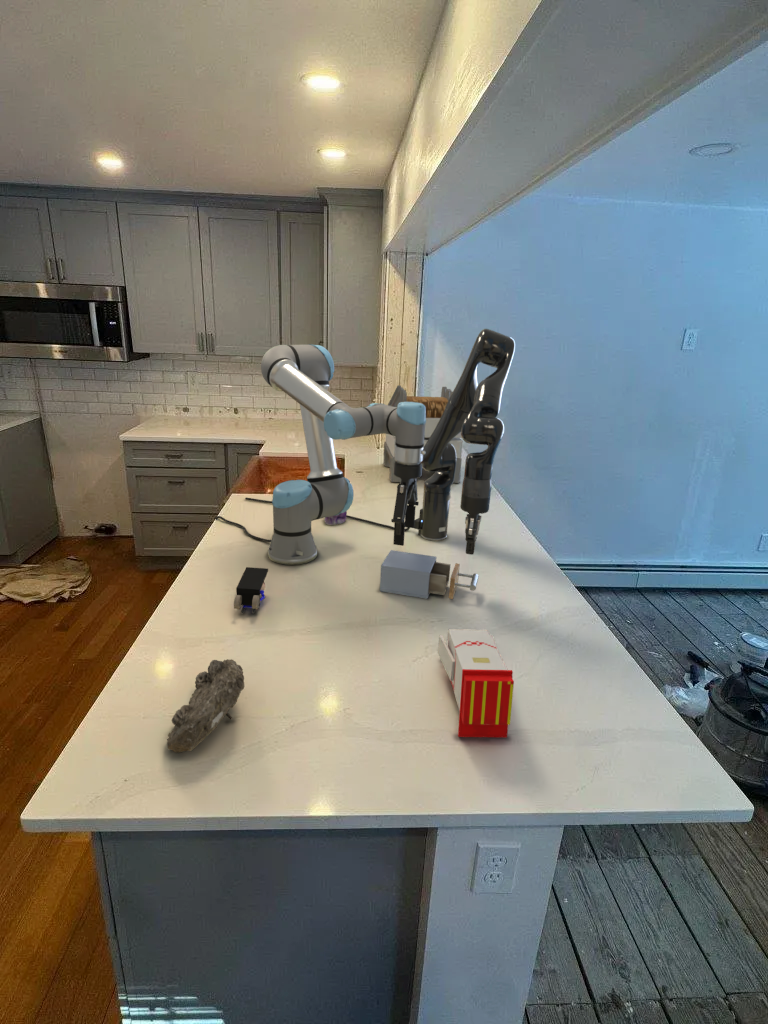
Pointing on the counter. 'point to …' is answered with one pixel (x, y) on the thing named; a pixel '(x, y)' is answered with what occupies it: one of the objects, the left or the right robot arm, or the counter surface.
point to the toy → (478, 682)
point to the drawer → (441, 579)
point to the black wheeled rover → (250, 589)
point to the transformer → (433, 415)
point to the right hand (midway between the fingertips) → (469, 553)
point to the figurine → (336, 519)
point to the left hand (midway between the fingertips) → (404, 535)
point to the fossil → (206, 705)
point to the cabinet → (406, 573)
